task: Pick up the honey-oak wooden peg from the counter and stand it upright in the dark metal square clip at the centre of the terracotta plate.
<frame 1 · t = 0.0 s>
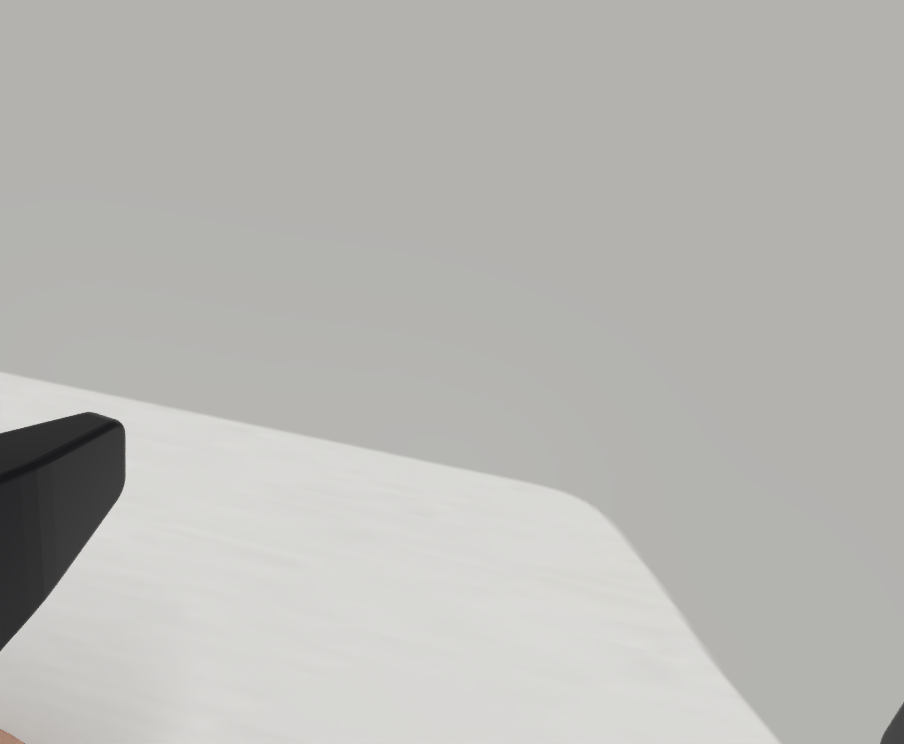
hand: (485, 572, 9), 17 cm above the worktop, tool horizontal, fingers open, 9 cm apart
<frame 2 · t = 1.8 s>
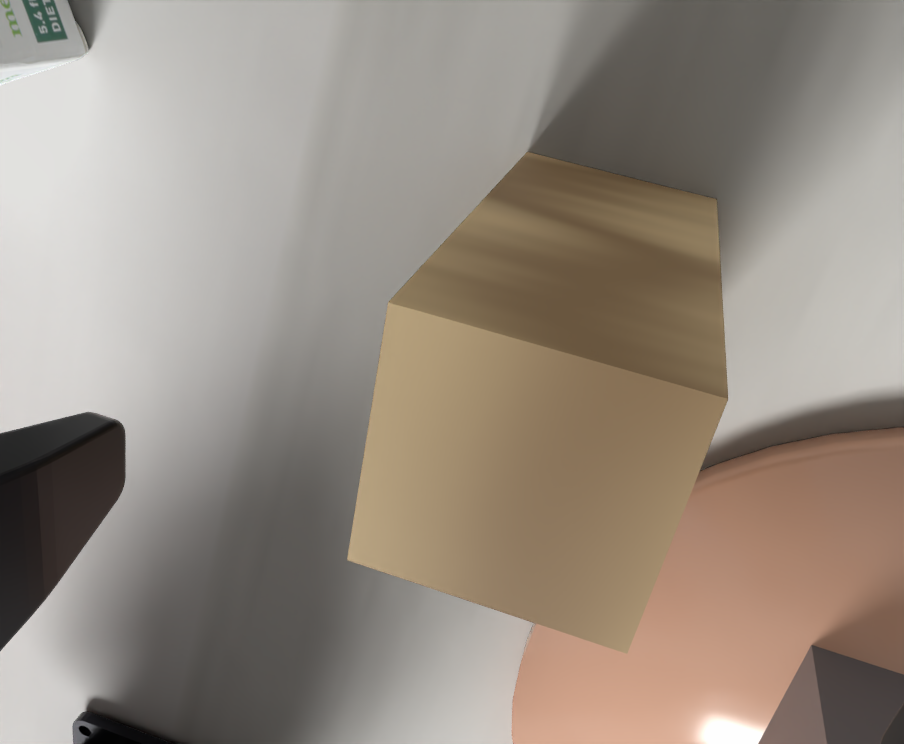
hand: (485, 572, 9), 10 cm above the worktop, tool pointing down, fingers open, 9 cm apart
oak peg: (595, 264, 18), on the worktop
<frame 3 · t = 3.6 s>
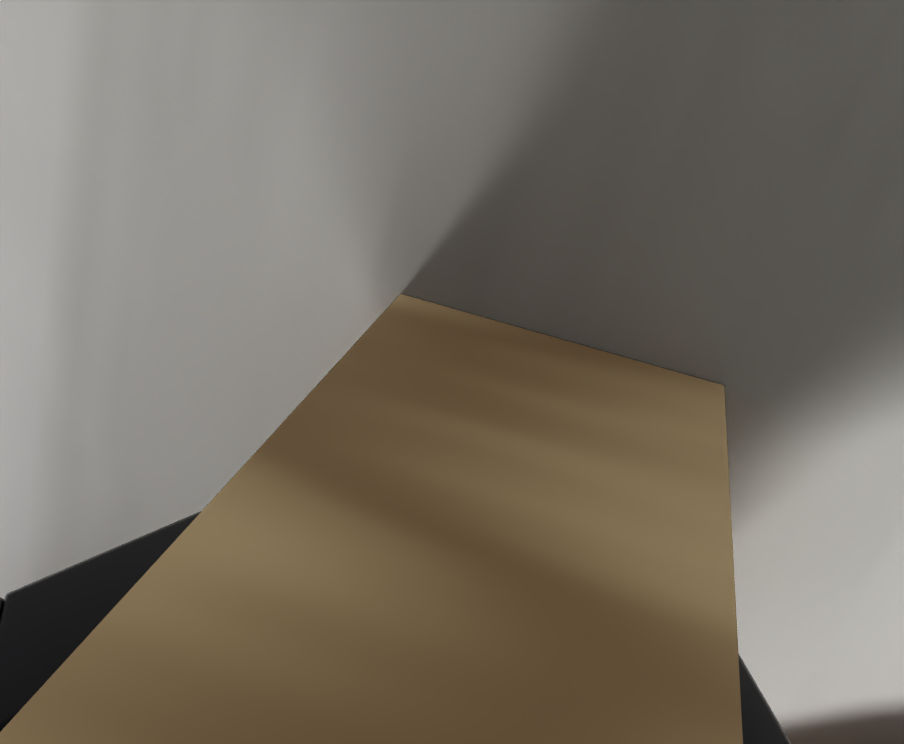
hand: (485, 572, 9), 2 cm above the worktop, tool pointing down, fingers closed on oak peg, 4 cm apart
oak peg: (520, 472, 11), on the worktop, touching gripper
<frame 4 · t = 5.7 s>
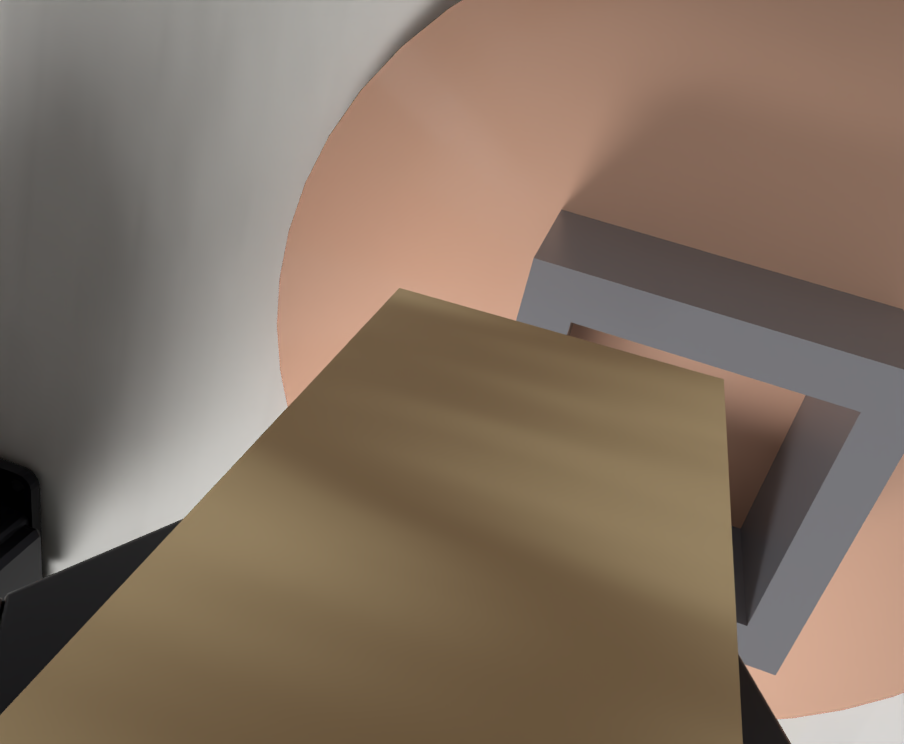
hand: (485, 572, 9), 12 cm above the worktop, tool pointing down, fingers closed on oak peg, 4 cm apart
oak peg: (520, 467, 11), point 10 cm above the worktop, touching gripper
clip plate: (671, 384, 21), on the worktop
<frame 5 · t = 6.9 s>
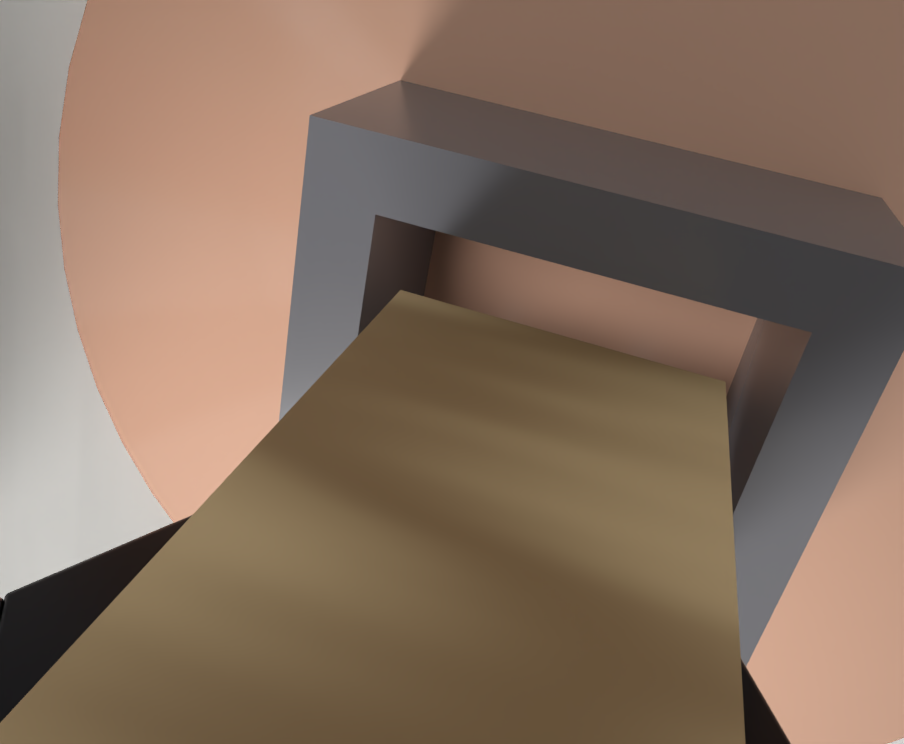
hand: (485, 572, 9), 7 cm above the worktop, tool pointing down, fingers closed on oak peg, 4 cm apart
oak peg: (521, 469, 11), point 5 cm above the worktop, touching gripper
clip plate: (577, 328, 15), on the worktop
when the fingers open (5 cm above the worktop, at t = 8.0 s): oak peg drops 2 cm, resting on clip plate.
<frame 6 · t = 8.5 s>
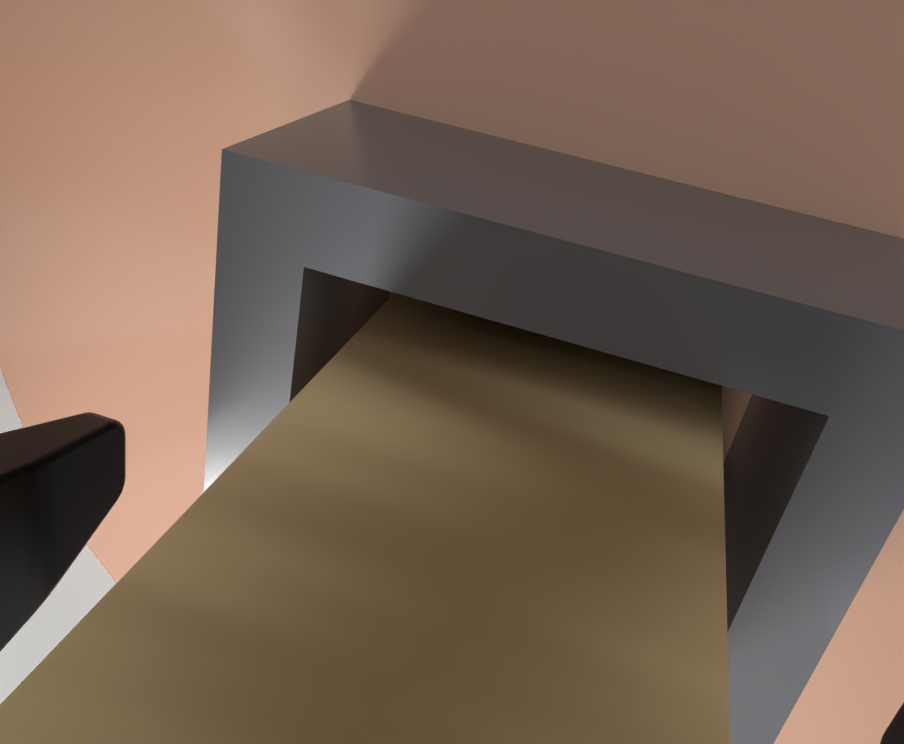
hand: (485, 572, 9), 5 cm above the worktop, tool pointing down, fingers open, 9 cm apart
oak peg: (543, 402, 13), point 1 cm above the worktop, touching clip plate
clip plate: (557, 377, 14), on the worktop
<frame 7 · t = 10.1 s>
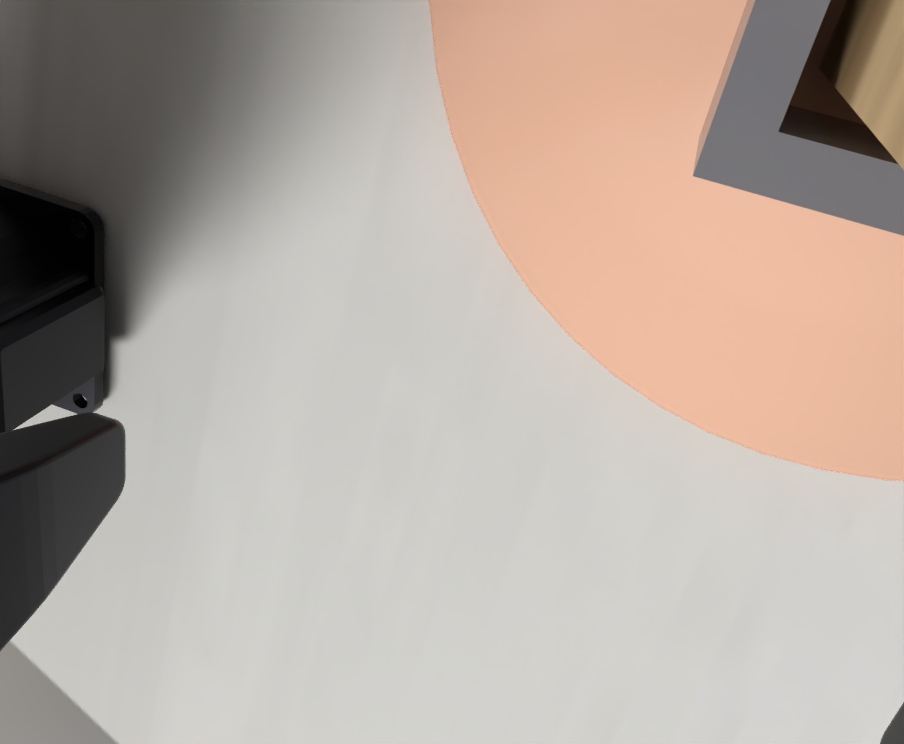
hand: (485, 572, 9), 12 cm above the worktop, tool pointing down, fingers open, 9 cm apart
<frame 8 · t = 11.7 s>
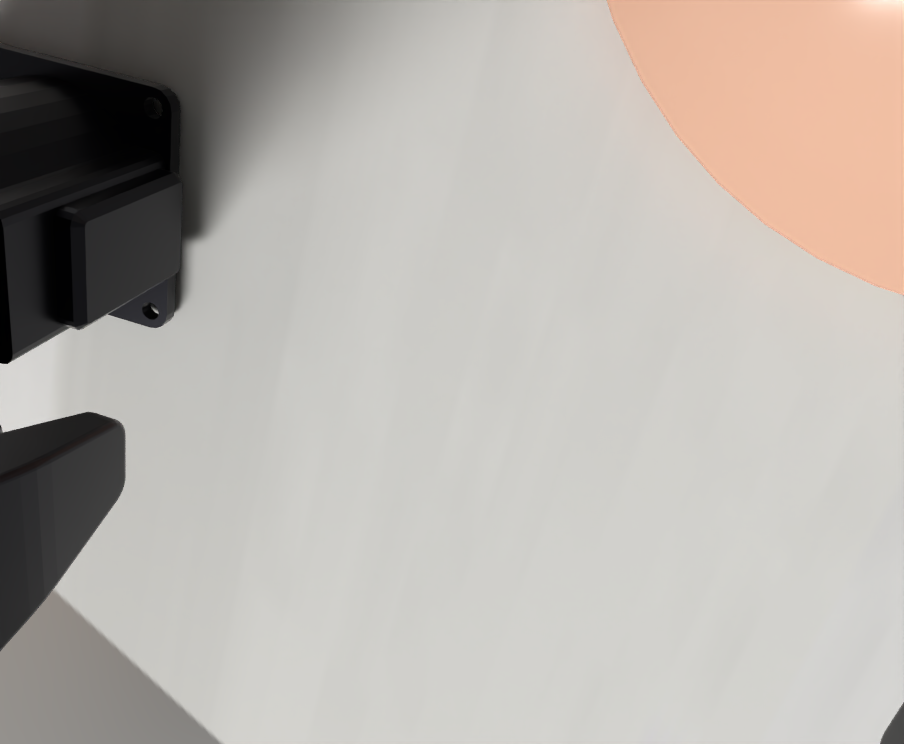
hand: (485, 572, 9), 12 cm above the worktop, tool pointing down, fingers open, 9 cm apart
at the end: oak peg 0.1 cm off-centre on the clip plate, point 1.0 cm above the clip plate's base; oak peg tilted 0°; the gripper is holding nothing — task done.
